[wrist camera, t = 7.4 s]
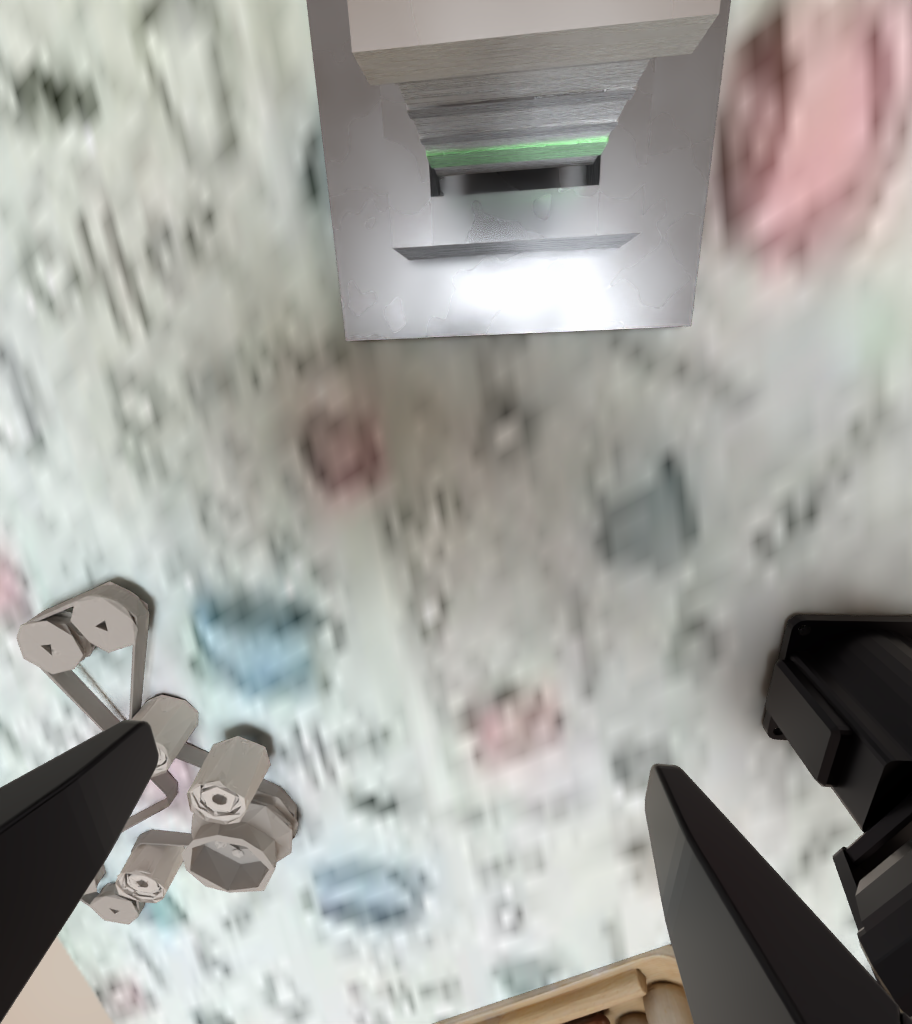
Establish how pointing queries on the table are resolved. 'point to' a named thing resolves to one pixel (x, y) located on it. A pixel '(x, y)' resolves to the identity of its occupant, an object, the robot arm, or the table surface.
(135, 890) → the pulley system
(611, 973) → the toy food set
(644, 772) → the table surface
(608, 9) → the grey slab
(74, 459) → the table surface
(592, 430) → the table surface
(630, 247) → the stand base
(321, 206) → the table surface
